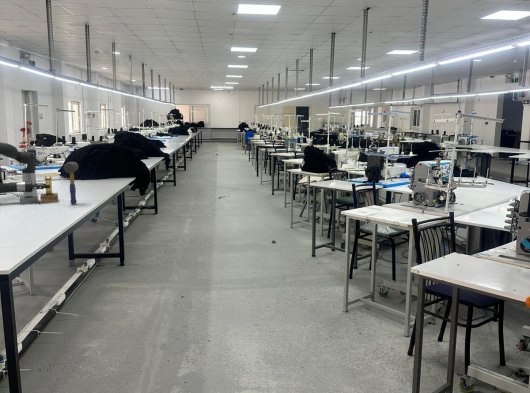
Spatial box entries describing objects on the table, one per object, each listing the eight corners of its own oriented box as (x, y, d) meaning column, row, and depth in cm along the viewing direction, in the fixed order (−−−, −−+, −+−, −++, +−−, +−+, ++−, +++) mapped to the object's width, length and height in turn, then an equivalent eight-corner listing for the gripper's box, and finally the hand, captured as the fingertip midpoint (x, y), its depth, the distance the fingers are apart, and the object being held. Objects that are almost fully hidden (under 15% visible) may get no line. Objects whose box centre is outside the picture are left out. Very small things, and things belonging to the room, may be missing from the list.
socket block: (21, 201, 309) (20, 196, 309) (38, 200, 314) (38, 195, 313) (19, 204, 299) (19, 198, 298) (37, 203, 303) (37, 197, 303)
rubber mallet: (76, 206, 297) (74, 162, 292) (65, 206, 296) (62, 162, 290) (81, 202, 309) (78, 160, 304) (70, 202, 308) (67, 160, 302)
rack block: (41, 200, 315) (41, 193, 314) (58, 199, 319) (57, 192, 319) (40, 203, 304) (40, 196, 303) (58, 202, 309) (57, 195, 308)
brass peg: (46, 201, 313) (45, 176, 310) (52, 200, 314) (51, 176, 312) (46, 201, 309) (44, 177, 306) (52, 201, 311) (51, 176, 308)
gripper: (23, 182, 297) (49, 181, 303) (25, 180, 309) (50, 179, 316) (24, 193, 298) (50, 192, 305) (25, 190, 311) (50, 189, 317)
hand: (50, 185), depth 310 cm, fingers open, 8 cm apart
